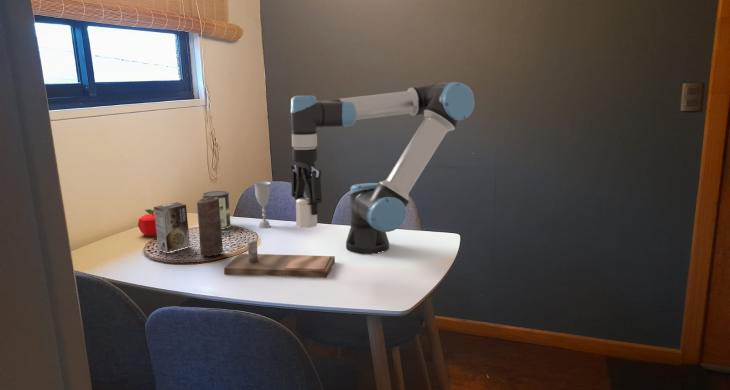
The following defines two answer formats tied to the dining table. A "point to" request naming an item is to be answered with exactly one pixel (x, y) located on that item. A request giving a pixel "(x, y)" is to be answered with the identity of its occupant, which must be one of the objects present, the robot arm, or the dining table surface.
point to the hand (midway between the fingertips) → (306, 222)
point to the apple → (148, 224)
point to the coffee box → (172, 226)
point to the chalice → (263, 200)
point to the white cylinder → (302, 213)
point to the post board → (279, 264)
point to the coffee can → (221, 206)
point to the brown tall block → (209, 226)
